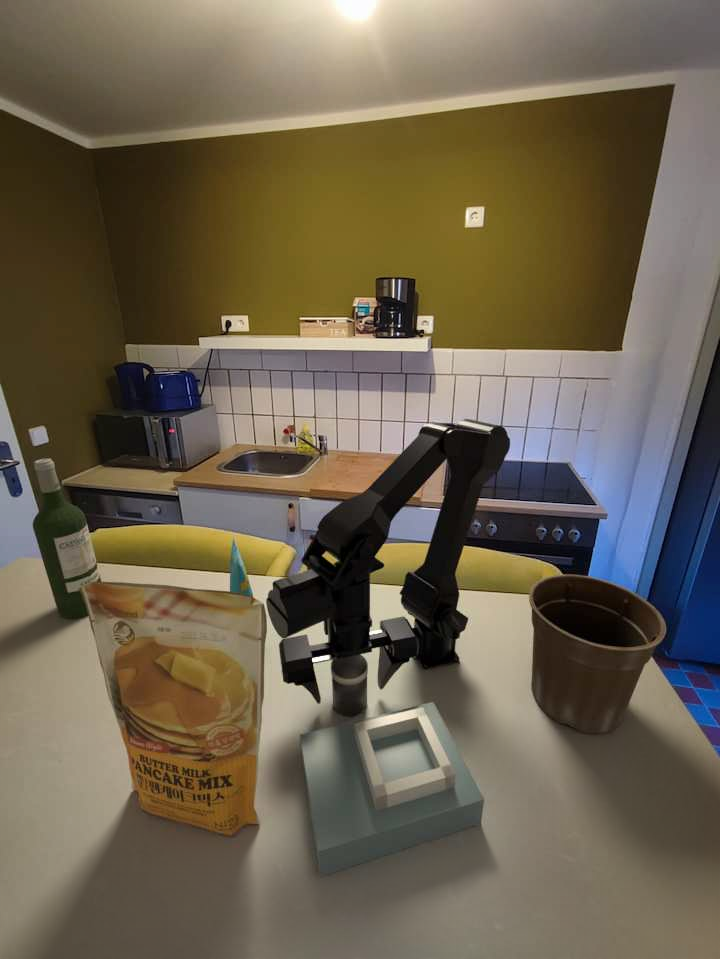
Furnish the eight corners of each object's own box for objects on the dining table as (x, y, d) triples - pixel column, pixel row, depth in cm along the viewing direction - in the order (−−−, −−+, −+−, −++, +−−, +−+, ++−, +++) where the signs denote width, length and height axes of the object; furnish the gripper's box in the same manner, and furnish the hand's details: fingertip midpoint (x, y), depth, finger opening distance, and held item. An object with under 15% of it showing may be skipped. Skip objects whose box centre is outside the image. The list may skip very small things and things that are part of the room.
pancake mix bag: (148, 752, 55) (103, 564, 46) (286, 788, 51) (268, 588, 41) (108, 806, 49) (45, 601, 39) (261, 852, 45) (233, 634, 35)
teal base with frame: (431, 724, 59) (434, 690, 57) (480, 823, 47) (486, 786, 45) (301, 757, 54) (299, 722, 52) (319, 877, 43) (317, 838, 41)
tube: (266, 655, 71) (255, 554, 65) (237, 665, 69) (222, 562, 63) (256, 628, 77) (244, 533, 71) (228, 637, 75) (214, 540, 69)
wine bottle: (90, 619, 80) (49, 468, 70) (48, 619, 80) (2, 468, 70) (113, 594, 87) (80, 454, 77) (75, 594, 88) (37, 454, 77)
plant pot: (493, 674, 67) (504, 586, 62) (570, 646, 73) (587, 564, 67) (577, 767, 53) (602, 665, 48) (665, 724, 59) (696, 628, 53)
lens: (362, 684, 65) (362, 648, 63) (372, 713, 61) (372, 675, 58) (328, 692, 64) (327, 655, 62) (336, 721, 59) (335, 683, 57)
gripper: (394, 562, 66) (392, 643, 71) (272, 581, 61) (279, 666, 67) (423, 605, 56) (418, 696, 61) (279, 631, 51) (287, 727, 57)
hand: (349, 693), depth 62 cm, fingers open, 9 cm apart
